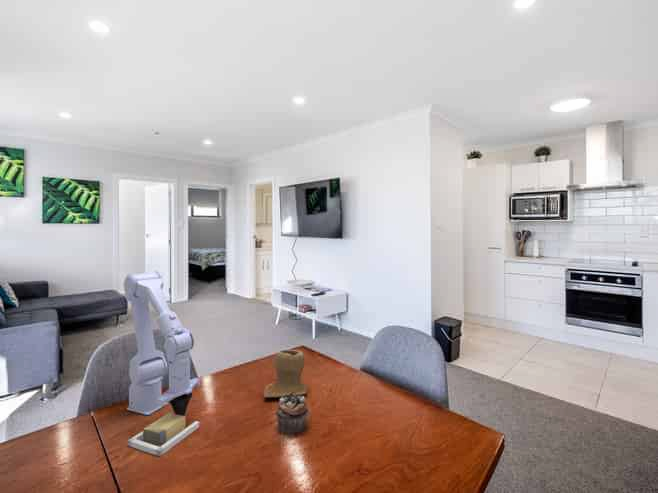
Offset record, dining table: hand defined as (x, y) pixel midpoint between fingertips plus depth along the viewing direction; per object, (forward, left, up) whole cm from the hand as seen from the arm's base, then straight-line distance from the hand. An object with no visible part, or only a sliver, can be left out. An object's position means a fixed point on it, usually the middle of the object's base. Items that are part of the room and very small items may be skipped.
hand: (180, 418), depth 102 cm
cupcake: (+31, +12, -2) cm, 33 cm away
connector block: (0, -6, -2) cm, 6 cm away
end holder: (0, -5, -2) cm, 5 cm away
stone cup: (+19, +30, -2) cm, 36 cm away
